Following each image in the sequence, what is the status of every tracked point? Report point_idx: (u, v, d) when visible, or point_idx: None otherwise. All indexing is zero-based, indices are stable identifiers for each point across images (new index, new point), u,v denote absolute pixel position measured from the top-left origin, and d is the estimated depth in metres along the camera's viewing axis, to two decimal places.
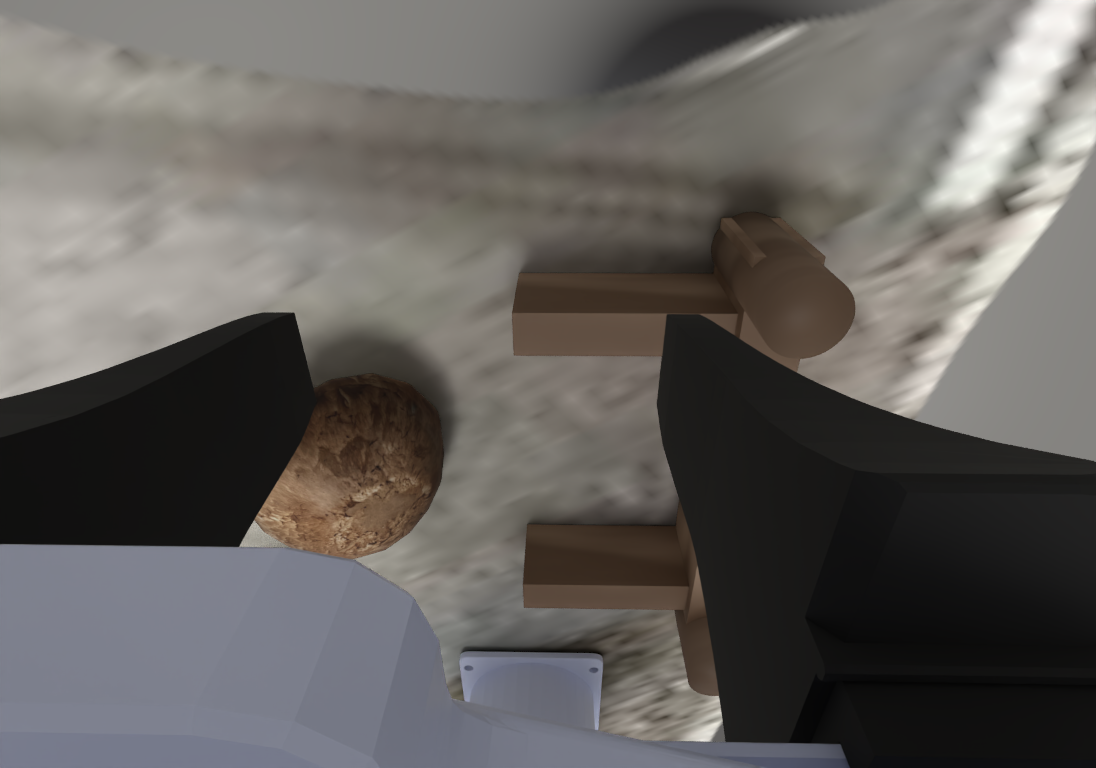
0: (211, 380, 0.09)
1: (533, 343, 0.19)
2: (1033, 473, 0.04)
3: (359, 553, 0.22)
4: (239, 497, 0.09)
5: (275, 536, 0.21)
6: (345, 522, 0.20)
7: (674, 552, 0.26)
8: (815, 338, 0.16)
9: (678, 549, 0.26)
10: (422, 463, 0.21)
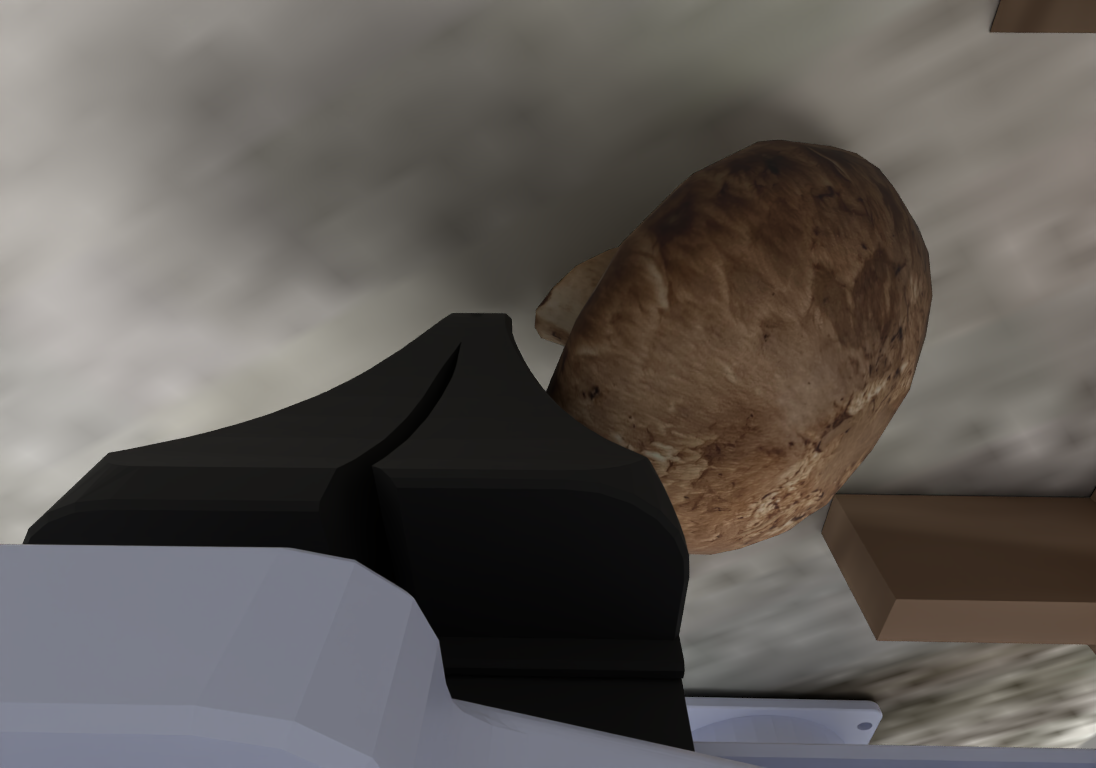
0: None
1: None
2: (535, 468, 0.04)
3: (757, 540, 0.11)
4: None
5: None
6: (808, 464, 0.09)
7: None
8: None
9: None
10: (922, 342, 0.10)
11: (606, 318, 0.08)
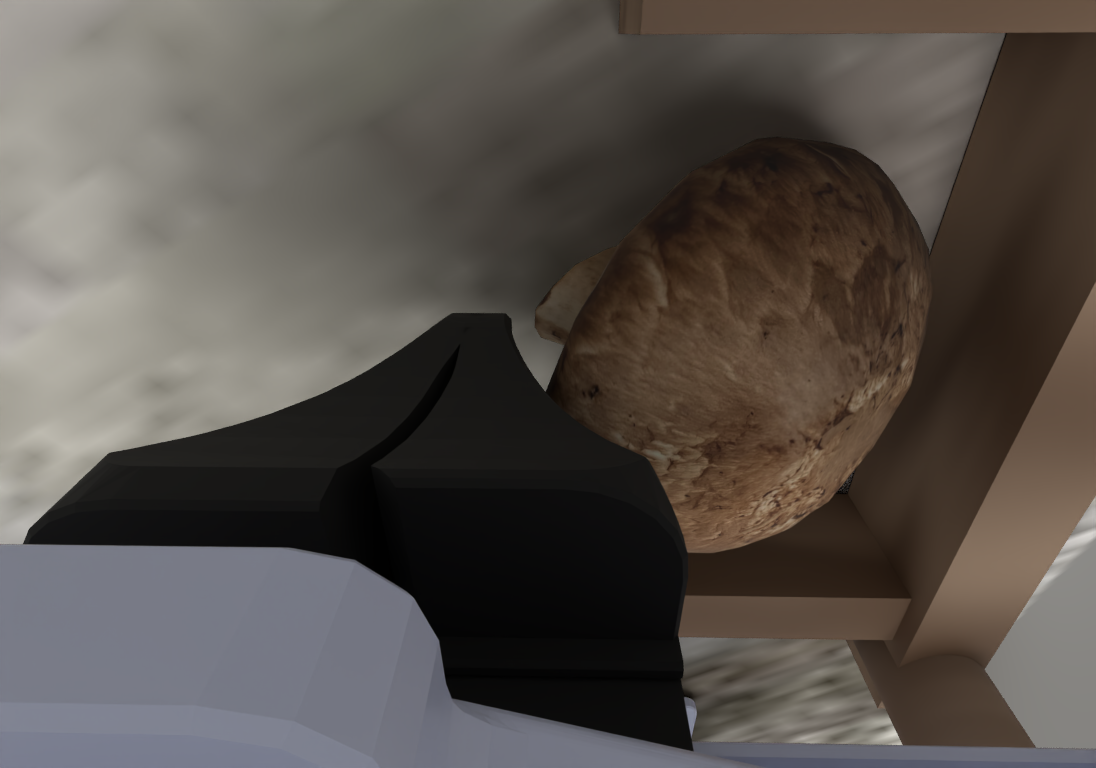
0: None
1: None
2: (534, 468, 0.04)
3: (758, 538, 0.11)
4: None
5: None
6: (809, 462, 0.09)
7: (861, 537, 0.15)
8: None
9: (867, 532, 0.15)
10: (922, 338, 0.10)
11: (605, 317, 0.08)
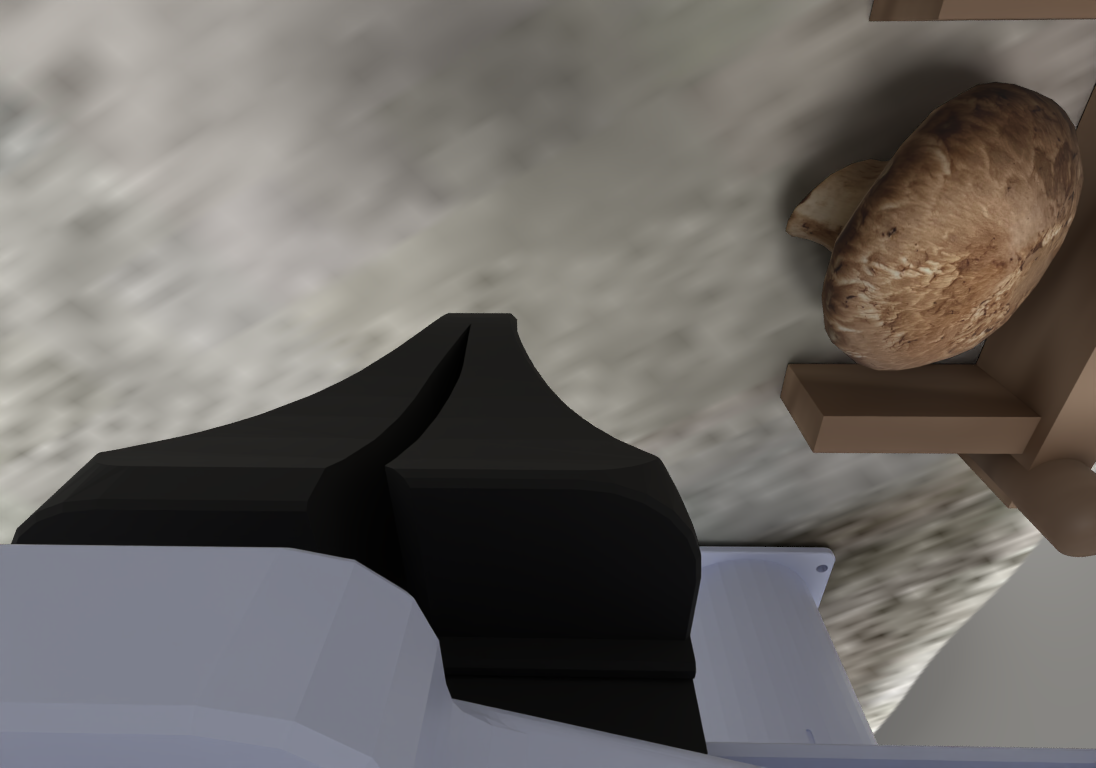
0: (446, 381, 0.09)
1: None
2: (548, 469, 0.04)
3: (958, 348, 0.16)
4: None
5: (878, 314, 0.15)
6: (1013, 278, 0.15)
7: (994, 387, 0.21)
8: None
9: (997, 384, 0.21)
10: None
11: (904, 185, 0.14)
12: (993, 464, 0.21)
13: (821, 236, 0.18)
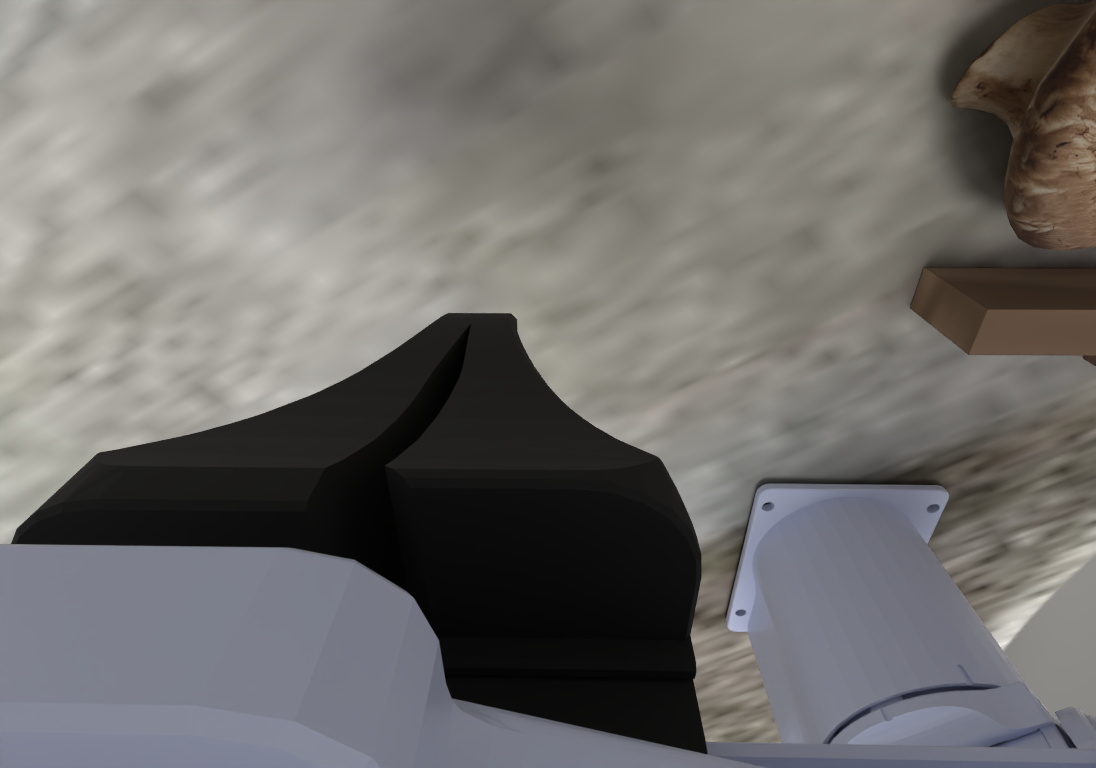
0: (446, 381, 0.09)
1: None
2: (548, 469, 0.04)
3: None
4: None
5: (1094, 163, 0.13)
6: None
7: None
8: None
9: None
10: None
11: None
12: None
13: (997, 99, 0.16)
